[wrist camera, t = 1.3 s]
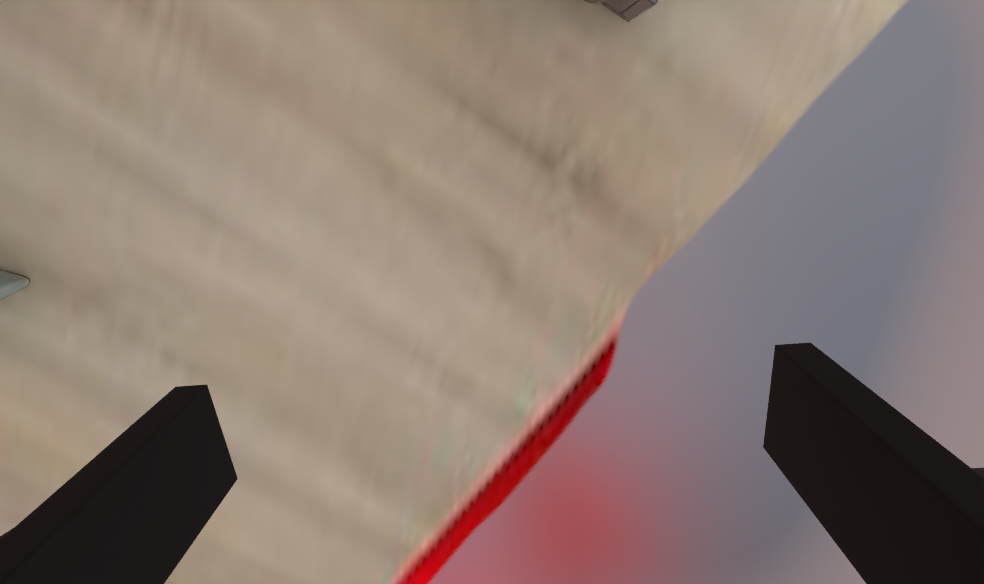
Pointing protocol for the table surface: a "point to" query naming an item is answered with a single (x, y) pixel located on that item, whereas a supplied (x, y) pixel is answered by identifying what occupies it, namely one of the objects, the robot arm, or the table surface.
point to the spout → (594, 1)
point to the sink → (629, 7)
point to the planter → (11, 283)
